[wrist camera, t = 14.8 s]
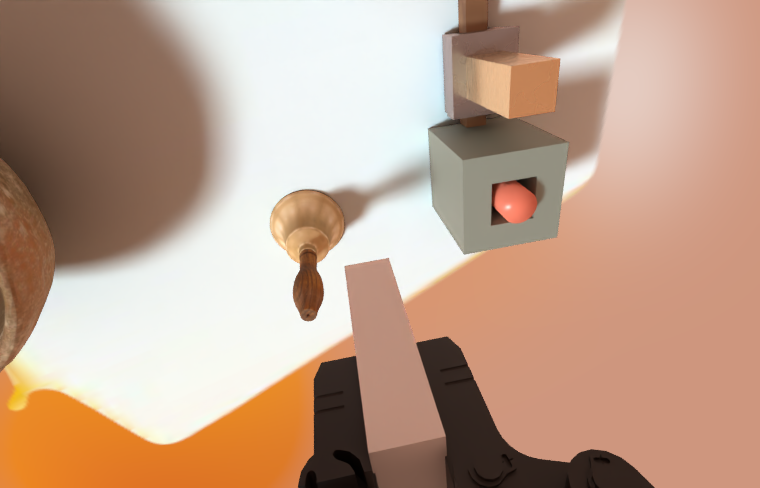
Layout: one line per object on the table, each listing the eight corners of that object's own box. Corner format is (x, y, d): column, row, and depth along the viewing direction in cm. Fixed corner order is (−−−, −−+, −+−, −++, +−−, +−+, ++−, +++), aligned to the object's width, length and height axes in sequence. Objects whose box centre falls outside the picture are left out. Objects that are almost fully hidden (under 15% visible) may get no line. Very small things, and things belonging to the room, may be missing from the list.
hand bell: (346, 191, 43) (361, 269, 29) (342, 255, 47) (354, 352, 33) (268, 188, 41) (246, 269, 28) (271, 255, 45) (253, 355, 32)
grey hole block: (428, 128, 41) (462, 160, 31) (514, 114, 41) (573, 141, 32) (432, 206, 45) (464, 254, 36) (510, 192, 46) (561, 236, 36)
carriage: (439, 35, 36) (493, 39, 25) (501, 26, 37) (581, 26, 26) (442, 112, 40) (491, 145, 29) (498, 103, 40) (568, 132, 29)
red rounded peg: (469, 163, 39) (503, 194, 32) (498, 159, 39) (538, 187, 32) (470, 191, 40) (502, 226, 33) (497, 186, 41) (535, 220, 34)
